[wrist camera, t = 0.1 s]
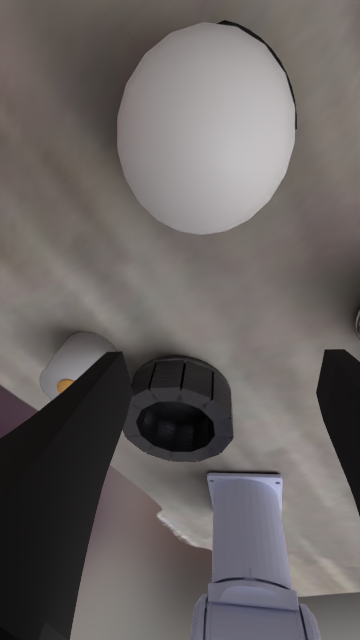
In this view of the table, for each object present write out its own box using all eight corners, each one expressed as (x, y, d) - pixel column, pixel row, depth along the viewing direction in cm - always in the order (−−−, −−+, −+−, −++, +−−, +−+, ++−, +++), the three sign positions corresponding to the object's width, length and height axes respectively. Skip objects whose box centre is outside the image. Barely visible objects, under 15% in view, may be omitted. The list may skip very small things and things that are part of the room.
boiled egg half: (125, 374, 25) (110, 412, 22) (75, 376, 26) (53, 413, 23) (109, 329, 23) (89, 364, 19) (55, 333, 24) (27, 367, 20)
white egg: (302, 165, 15) (358, 183, 9) (186, 237, 18) (170, 289, 12) (207, -74, 11) (192, -322, 5) (78, 66, 14) (-31, 12, 8)
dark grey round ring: (234, 426, 27) (236, 462, 24) (144, 427, 29) (135, 460, 26) (227, 352, 23) (228, 385, 20) (120, 358, 24) (105, 389, 21)
